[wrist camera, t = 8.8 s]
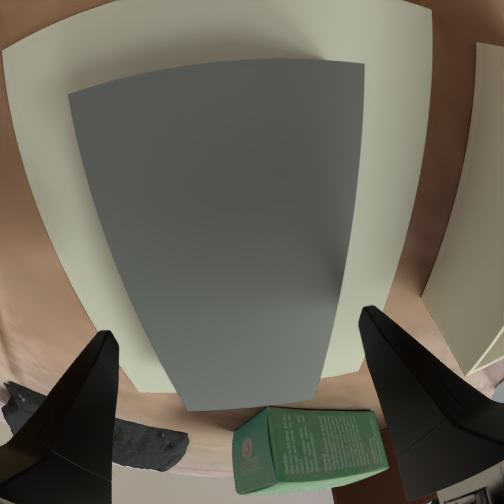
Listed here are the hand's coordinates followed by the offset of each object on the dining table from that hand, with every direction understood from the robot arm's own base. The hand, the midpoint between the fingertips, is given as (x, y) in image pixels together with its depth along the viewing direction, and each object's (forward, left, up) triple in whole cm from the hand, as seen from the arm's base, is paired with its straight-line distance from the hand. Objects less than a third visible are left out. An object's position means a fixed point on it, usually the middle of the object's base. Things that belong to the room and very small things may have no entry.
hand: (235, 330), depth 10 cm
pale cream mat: (0, 0, -4) cm, 4 cm away
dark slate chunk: (+19, +23, -5) cm, 30 cm away
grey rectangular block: (0, 0, -4) cm, 4 cm away
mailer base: (-14, -3, -4) cm, 15 cm away
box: (-5, +22, -4) cm, 23 cm away
